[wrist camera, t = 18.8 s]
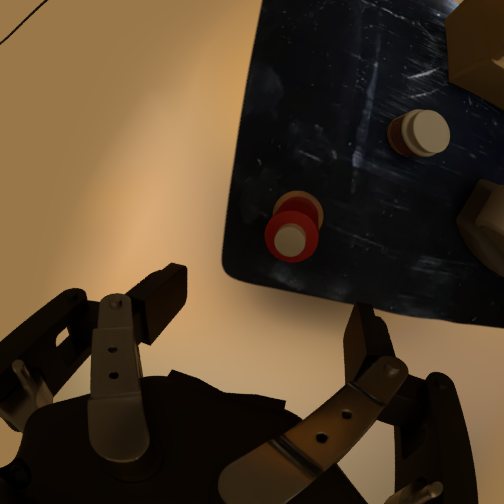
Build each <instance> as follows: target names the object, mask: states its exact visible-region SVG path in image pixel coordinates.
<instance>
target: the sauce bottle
mask: <svg viewBox="0 0 504 504" xmlns="http://www.w3.org/2000/svg"><path fill="white" fill-rule="evenodd" d="M318 238H319V221H318V211H317V208H316V206H315V205H314V204H313V203H312V202H311V201H310V200H309V199H307V198H304V197H300V196H296V197H291V198H289V199H287V200H286V201H284V202H283V203H282V205H281V206H280V207H279V209H278V210H277V211H276V213H275V214H274V216H273V217H272V218H271V220H270V221H269V222H268V224H267V226H266V230H265V242H266V245H267V247H268V249H269V251H270V252H271V253H272V254H273V255H274V256H275V257H276V258H278V259H280V260H282V261H285V262H292V263H293V262H300V261H303V260H305V259H307V258H308V257H309V256H311V255H312V254H313V252H314V251H315V249H316V247H317V244H318Z"/></svg>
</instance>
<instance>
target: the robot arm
mask: <svg viewBox="0 0 504 504" xmlns="http://www.w3.org/2000/svg"><path fill="white" fill-rule="evenodd" d="M47 1H48V0H44V1H43V2H42V3H41V4H40V5H39V6H38V7H37V8H36V9H35V10H34V11H33V12H32V13H31V14H29V15H28V17H26V18H25V19H24V20H23V21H22V22H21V23H20V24H19V25H18V26H17V27H16V28H15V29H14V30H13V31H12V32H11V33H10V34H9V35H8V36H7V37H6V38H5V39H4V40H3V41H1V42H0V45H1V44H2V43H3V42H4V41H5V40H7V39H8V38H9V37H10V36H11V35H12V34H13V33H14V32H15V31H16V30H17V29H18V28H19V27H20V26H21V25H22V24H23V23H24V22H25V21H26V20H27V19H28V18H29V17H30V16H31V15H33V14H34V13H35V11H37V10H38V9H39V8H40V7H41V6H42V5H43V4H44V3H46V2H47ZM186 299H187V267H186V266H184V265H180V264H175V263H170V264H169V265H168V266H166V267H165V268H164V269H163V270H158V271H155V272H153V273H151V274H149V275H148V276H147V277H146V278H145V279H143V280H142V281H140V283H138V284H137V285H136V286H135V287H133V288H132V289H131V290H129V291H128V292H127V293H126V294H119V293H116V294H110V295H107V296H105V297H104V298H103V299H102V300H101V301H100V302H96V301H89V300H87V296H86V292H85V291H84V290H82V289H79V288H72V289H68V290H65V291H63V292H62V293H61V294H59V295H58V296H56V297H55V298H54V299H52V300H51V301H50V302H48V303H47V304H46V305H45V306H44V307H42V308H41V309H40V310H38V311H37V312H36V313H34V314H33V315H32V316H31V317H29V318H28V319H27V320H26V321H24V322H23V323H22V324H21V325H19V326H18V327H17V328H16V329H15V330H13V331H12V332H11V333H10V334H9V335H8V336H6V337H5V338H4V339H3V340H2V341H1V342H0V417H1V418H2V419H3V420H4V421H5V422H6V423H7V424H8V426H9V427H10V428H11V429H12V430H14V431H17V432H22V433H23V436H22V441H21V444H20V447H19V450H18V452H17V455H16V457H15V458H14V460H13V461H12V462H11V463H10V464H8V465H6V466H4V467H1V468H0V504H368V503H367V502H366V501H365V499H364V498H363V497H362V496H361V495H360V493H359V492H358V491H357V489H356V488H355V487H354V485H353V484H352V483H351V482H350V480H349V479H348V478H347V476H346V475H345V474H344V472H343V471H342V470H341V468H340V467H339V466H338V464H337V463H338V462H339V461H340V460H341V459H342V458H343V457H344V456H345V455H346V454H347V453H348V452H349V451H350V450H351V448H352V447H353V446H354V445H355V444H356V443H357V442H358V441H359V440H360V439H361V437H362V436H363V435H364V434H365V433H366V432H367V431H368V429H369V428H370V427H371V426H372V425H373V424H374V422H375V421H376V420H379V421H381V422H384V423H387V424H390V425H393V426H394V439H395V493H394V494H393V495H392V496H390V497H389V498H388V499H387V500H386V501H385V503H384V504H478V492H477V483H476V475H475V468H474V462H473V456H472V451H471V445H470V440H469V436H468V431H467V427H466V423H465V419H464V416H463V412H462V408H461V405H460V402H459V398H458V395H457V392H456V388H455V385H454V383H453V381H452V380H451V379H450V378H449V377H448V376H447V375H445V374H443V373H440V372H432V373H430V374H429V375H428V376H427V378H426V379H425V380H424V379H421V378H418V377H415V376H412V375H409V374H408V368H407V366H406V364H405V363H404V362H403V361H402V360H400V359H399V358H397V357H396V356H395V353H394V349H393V345H392V342H391V339H390V335H389V333H388V329H387V325H386V324H385V322H384V321H383V320H382V319H381V317H378V316H375V314H374V310H373V307H372V305H371V304H366V303H360V302H356V303H355V305H354V307H353V310H352V313H351V316H350V318H349V321H348V324H347V327H346V329H345V333H344V338H343V347H344V364H345V386H343V387H342V388H341V389H340V390H339V391H338V392H337V393H335V394H334V395H333V396H332V397H331V398H330V399H329V400H327V401H326V402H325V403H324V404H322V405H321V406H320V407H319V408H318V409H316V410H315V411H314V412H313V413H311V414H310V415H309V416H308V417H306V418H305V419H304V420H302V419H301V418H300V417H298V416H297V415H296V414H294V413H292V412H290V411H288V410H286V409H285V403H286V401H285V400H280V399H274V398H270V397H266V396H261V395H256V394H236V393H225V392H222V391H220V390H218V389H217V388H215V387H213V386H211V385H209V384H207V383H206V382H204V381H202V380H200V379H198V378H196V377H193V376H190V375H187V374H184V373H181V372H178V371H175V370H171V372H170V373H169V375H168V376H147V377H143V372H142V366H141V361H140V353H139V347H138V345H139V344H140V343H141V342H142V343H145V344H147V345H150V346H151V344H152V343H153V342H154V341H155V340H156V338H157V337H158V336H159V335H160V334H161V332H162V331H163V330H164V329H165V328H166V326H167V325H168V324H169V323H170V322H171V320H172V319H173V318H174V317H175V316H176V315H177V313H178V312H179V311H180V310H181V309H182V307H183V306H184V305H185V302H186ZM66 327H67V329H68V333H69V336H68V337H67V338H66V339H65V340H64V341H63V342H62V343H61V344H60V345H59V346H57V347H56V338H57V336H58V334H59V333H61V332H62V331H63V330H64V329H65V328H66ZM90 355H91V381H90V382H91V384H90V390H91V393H90V394H86V395H83V396H80V397H76V398H72V399H68V400H64V401H60V402H56V403H53V397H54V396H55V395H56V394H57V393H58V391H59V390H60V389H61V388H62V387H63V385H64V384H65V383H66V382H67V381H68V380H69V378H70V377H71V376H72V375H73V374H74V373H75V372H76V370H77V369H78V368H79V367H80V366H81V365H82V364H83V362H84V361H85V360H86V359H87V358H88V357H89V356H90Z"/></svg>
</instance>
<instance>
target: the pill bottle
mask: <svg viewBox="0 0 504 504" xmlns="http://www.w3.org/2000/svg"><path fill="white" fill-rule="evenodd" d="M387 136H388V140H389V143H390V145H391V146H392V148H393V149H394V150H395V151H396V152H398V153H399V154H401V155H405V156H432V155H434V154H436V153H438V152H441V151H443V150H444V149H445V148H446V147H447V145H448V143H449V140H450V132H449V128H448V125H447V123H446V121H445V120H444V118H443V117H442V116H441V115H440V114H438V113H437V112H434V111H432V110H419V109H416V110H412V111H410V112H408V113H406V114H404V115H402V116H400V117H397V118H395V119H394V120H393V121H392V122H391V123H390V124H389V127H388V131H387Z"/></svg>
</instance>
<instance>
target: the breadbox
mask: <svg viewBox="0 0 504 504" xmlns="http://www.w3.org/2000/svg"><path fill="white" fill-rule="evenodd" d="M444 22H445V30H446V39H447V50H448V68H449V82H451V83H453V84H455V85H457V86H459V87H461V88H464V89H466V90H468V91H470V92H472V93H474V94H476V95H477V96H479V97H481V98H483V99H485V100H487V101H488V102H490V103H492V104H494V105H495V106H497V107H499V108H500V109H502V110H504V56H503V57H502V58H501V59H500V60H498V61H496V60H494V59H492V58H491V56H490V49H489V43H488V37H487V32H486V27H485V22H484V18H483V14H482V10H481V6H480V2H479V0H464V1H463V2H462V3H461V4H460V5H459V6H458V7H457V8H456V9H455V10H454V11H453V12H452V13H451V14H450V15H449V16H448V17H447V18H446V19H445V20H444Z"/></svg>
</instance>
